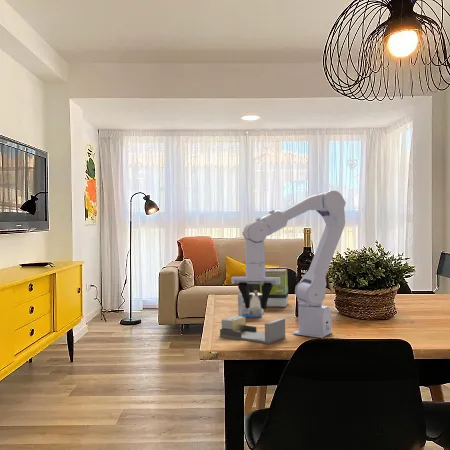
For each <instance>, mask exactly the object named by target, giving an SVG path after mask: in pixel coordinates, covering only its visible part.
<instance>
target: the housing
mask: <svg viewBox="0 0 450 450" xmlns="http://www.w3.org/2000/svg"><path fill="white" fill-rule="evenodd" d="M262 302H263V297H262V294H259V293H258V291H254V294H249V315H251V316H262V317H263V316H264V313H265V309H263V308H262Z"/></svg>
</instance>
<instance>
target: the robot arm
mask: <svg viewBox="0 0 450 450" xmlns="http://www.w3.org/2000/svg"><path fill="white" fill-rule="evenodd" d="M346 204H347V202H346V201H345V198H344V197H343V195H342V193H340V191H338V190H334V189H333V190H329V191H325V192H318V193H316V194H313V195H310V196H307V197H305V198H304V199H302V200H300V201H299V202H297V203H295V204H293V205H291V206H289V207H288V208H286V209H285V210H283V211H282V210H279V209H276V210H275V209H271V210H269V212H268V214H266V215H264V216H262V217H261V218H260V217H257V218H256V219H255V221H254V222H249V223H247V224H246V225H244V228H243V231H242V236H243V238H244V239H245V249H244V251H245V276H232V277H231V278H230V281H231V284H232V285H235V284H238V286H237V287H238V290H239V292H240V293H241V294H242V296H243V299H244V302H245V307H246V309H248V308H249V291H250V284H264V285H262V286H261V287H262V297H263V302H262V308H263V309H264V310H266V309H267V307H268V306H267V301H268V297H269V294H270V292H271V289H272V287H273V285H272V284H276V285H279V284H280V277H265V269H266V259H265V257H266V256H265V253H266V252H265V248H266V247H265V240H266V238H267V236H268V237H269V236H270V235H273V234H274V233H277V232H278V231H280V230H282V229H284V228H285V227H287V226H288V225H287V224H288V221H290V220H292V219H295V218H296V217H299V216H300V215H302V214H305V213H307V212H309V211H315V212H317V214H319V215H320V216H321V218H322V219H323V221H324V223H325V226H324V230H323V232H322V234H321V237H320V240H319V243H318V245H317V248H316V251H315V253H314V255H313V257H312V260H311V262H310V266H309V268H308V271H307V272H306V273H305V274H304V275H302V278H301V279H300V281H299V282H298V283H297V284H296V285H295V289H294V294H295V296H296V298H297V299H298V301H297V310H298V313H297V314H298V315H297V316H298V317H297V319H298V324H297V325H298V326H297V327H298V330H295V331H294V332H292V334H293V335H297V336H306V337H312V338H320V339H323V338H325V337H327V336H329V335H331V334H332V333H333V331H332V313H331V308H330V307H329V306H327V305H324V304H323V302H324V301H325V299H326V288H327V281H326V280H327V279H326V275H327V274H328V270H329V267H330V265H331V262H332V260H333V257H334V254H335V252H336V249H337V247H338V244H339V243H340V239H341V236H342V235H343V231H344V228H345V227H346V215H345V214H346V213H345V207H346ZM249 281H261V282H249Z"/></svg>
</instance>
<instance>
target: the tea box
mask: <svg viewBox="0 0 450 450" xmlns="http://www.w3.org/2000/svg"><path fill="white" fill-rule="evenodd" d="M265 277H280V284H279V285H276V284H272V285H273V287H272V289H271V292H270V294H269V297H268V301H267V306H266V307H276V308H278V307H282V308H285V307H287V305H288V304H289V286H288V283H289V282H288V279H289V278H288V269H287V268H278V269H277V268H265ZM249 282H261V281H249ZM262 285H264V284H250V291H249V293H254V291H258V292H259V293H261V294H262V287H261V286H262Z"/></svg>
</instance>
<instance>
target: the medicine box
mask: <svg viewBox="0 0 450 450" xmlns="http://www.w3.org/2000/svg"><path fill="white" fill-rule="evenodd" d="M258 293H259V292H258ZM249 294H254V293H249ZM259 294H261V293H259ZM237 308H238V313H237V314H238V315H237V316H242V317H245V319H252V318H253V319H255V318H262V317H263V315H262V316H251V315H249V308H248V309H246V307H245V302H244V299H243V296H242V294H241V292H240V293H237Z"/></svg>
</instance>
